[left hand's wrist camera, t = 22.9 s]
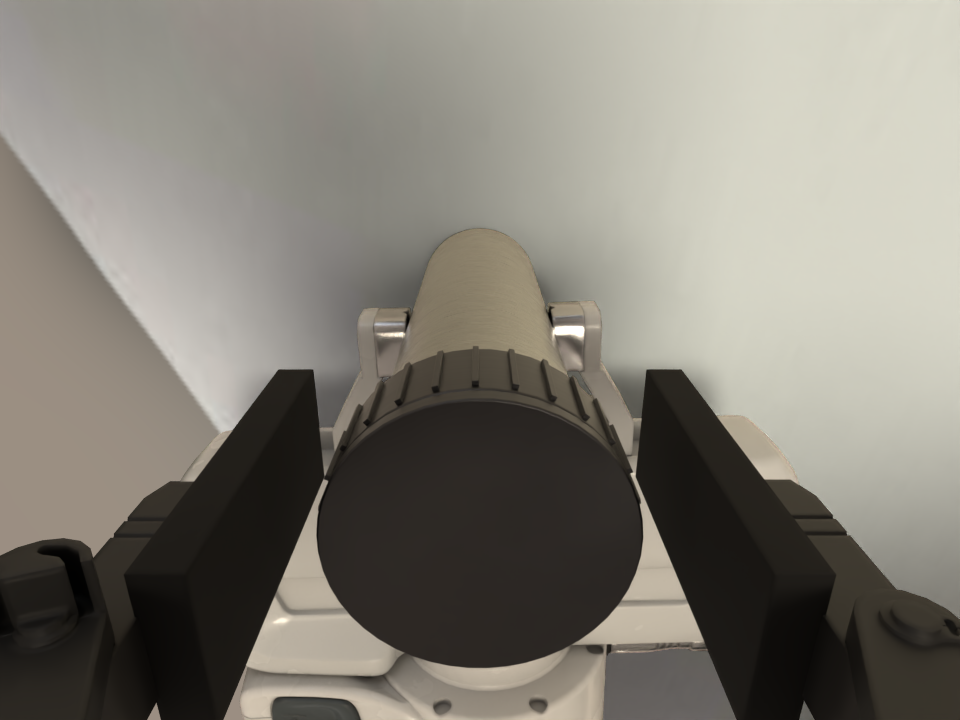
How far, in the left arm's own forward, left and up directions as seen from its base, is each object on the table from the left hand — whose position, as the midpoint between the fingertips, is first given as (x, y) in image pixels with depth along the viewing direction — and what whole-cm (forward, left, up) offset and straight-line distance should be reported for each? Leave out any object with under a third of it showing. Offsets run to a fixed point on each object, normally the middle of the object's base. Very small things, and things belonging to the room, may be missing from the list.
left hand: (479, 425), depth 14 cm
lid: (0, 0, +4) cm, 4 cm away
